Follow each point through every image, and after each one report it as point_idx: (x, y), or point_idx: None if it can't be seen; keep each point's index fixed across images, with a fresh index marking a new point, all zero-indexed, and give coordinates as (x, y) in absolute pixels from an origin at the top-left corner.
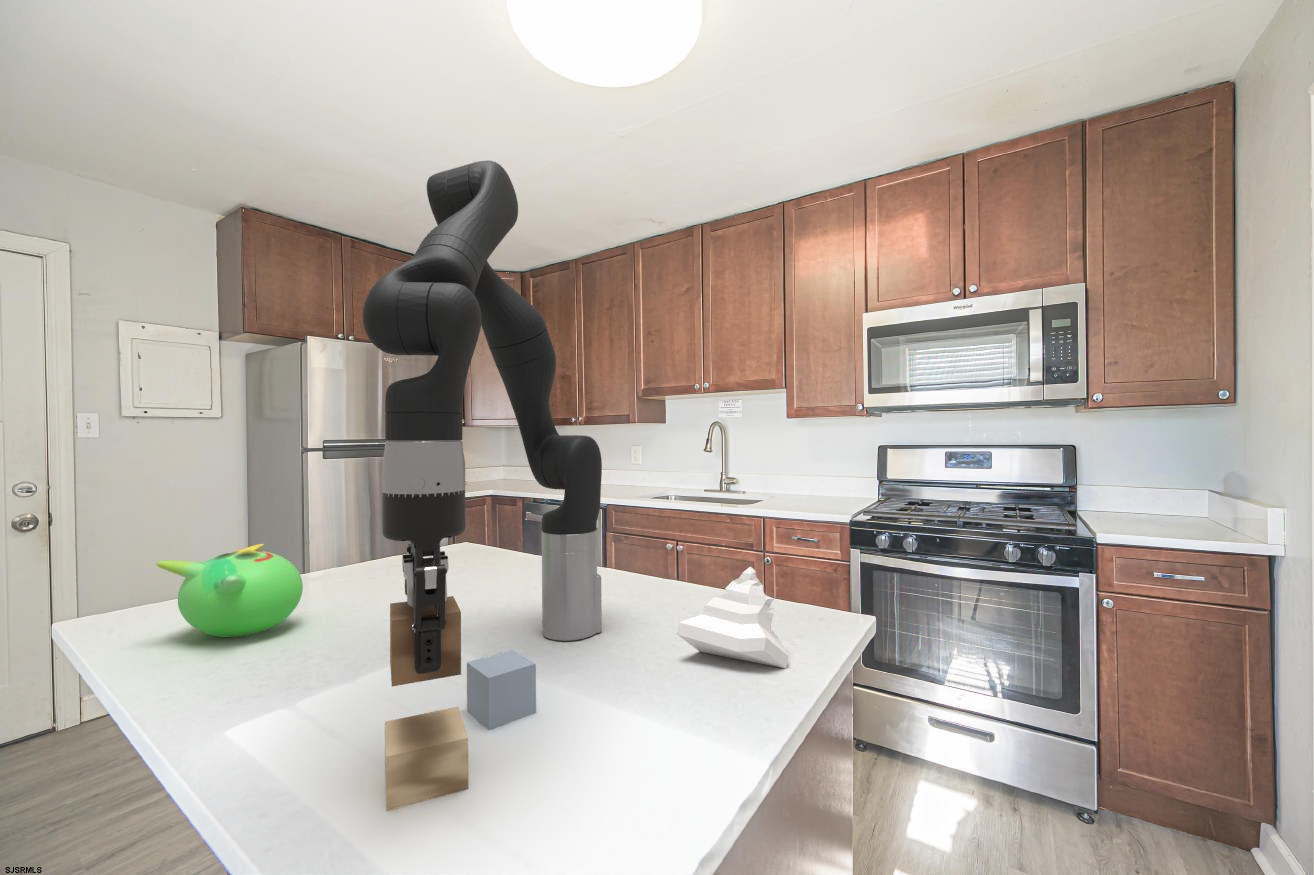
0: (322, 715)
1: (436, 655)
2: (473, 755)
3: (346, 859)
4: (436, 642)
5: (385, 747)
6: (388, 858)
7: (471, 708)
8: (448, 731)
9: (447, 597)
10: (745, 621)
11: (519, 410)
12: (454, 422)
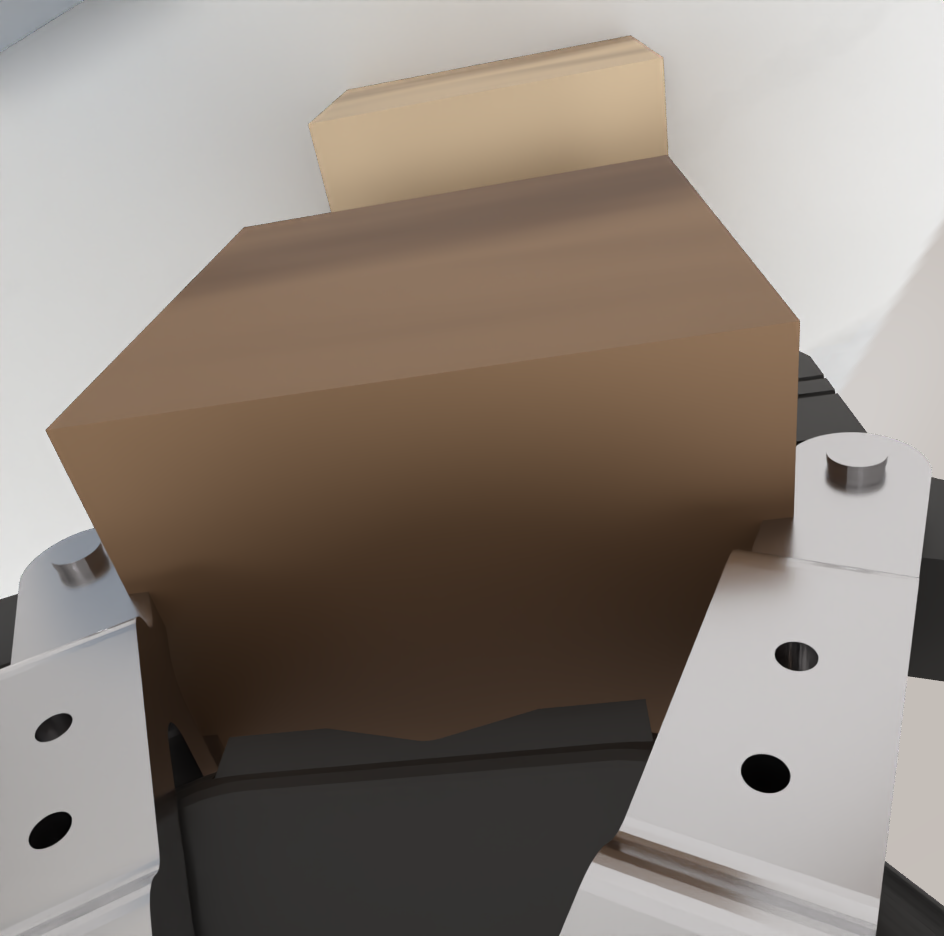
0: (16, 579)
1: (813, 378)
2: (389, 20)
3: (829, 377)
4: (859, 427)
5: None
6: (887, 272)
7: (2, 44)
8: (564, 159)
9: (113, 486)
10: None
11: None
12: None
